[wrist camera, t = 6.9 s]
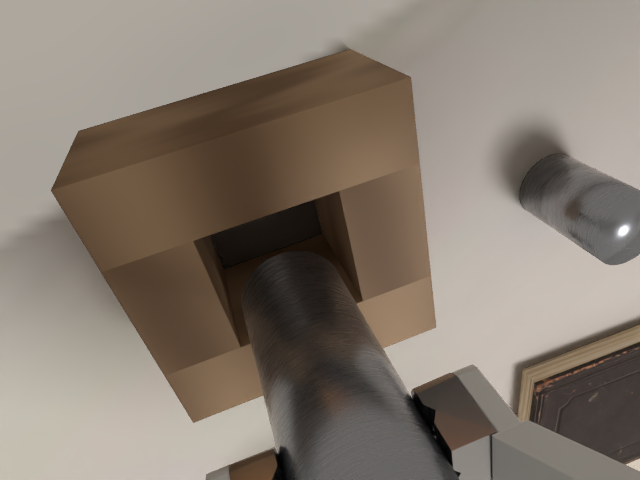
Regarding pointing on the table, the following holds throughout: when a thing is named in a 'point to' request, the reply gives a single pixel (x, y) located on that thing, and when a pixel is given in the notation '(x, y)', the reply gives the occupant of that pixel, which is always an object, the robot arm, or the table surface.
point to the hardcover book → (589, 395)
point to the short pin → (585, 207)
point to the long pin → (331, 380)
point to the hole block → (253, 210)
